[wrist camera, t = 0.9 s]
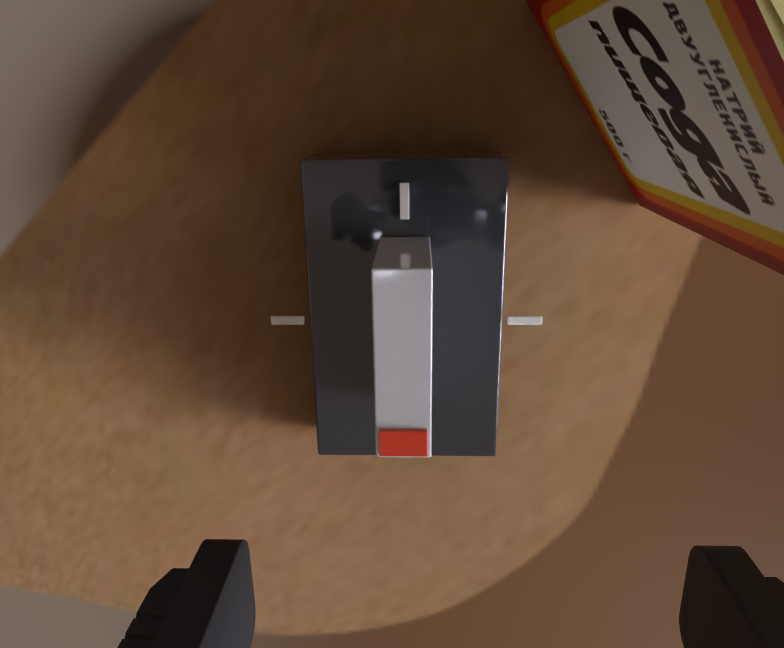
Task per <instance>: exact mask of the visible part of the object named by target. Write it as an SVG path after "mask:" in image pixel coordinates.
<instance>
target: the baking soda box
mask: <svg viewBox="0 0 784 648" xmlns="http://www.w3.org/2000/svg"><path fill="white" fill-rule="evenodd" d="M526 3H527V4H528V6H529V8H530V10H531V12H532V13H533V15H534V17H535V19H536V20H537V22H538V24H539V26H540V28H541V29H542V31H543V33H544V35H545V37H546V38H547V40H548V42H549V44H550V45H551V47H552V49H553V51H554V53H555V54H556V56H557V58H558V60H559V62H560V63H561V65H562V67H563V69H564V70H565V72H566V74H567V76H568V78H569V79H570V81H571V83H572V85H573V87H574V88H575V90H576V92H577V94H578V96H579V97H580V99H581V101H582V103H583V104H584V106H585V108H586V110H587V112H588V113H589V115H590V117H591V119H592V121H593V122H594V124H595V126H596V128H597V129H598V131H599V133H600V135H601V137H602V138H603V140H604V142H605V144H606V146H607V147H608V149H609V151H610V153H611V155H612V156H613V158H614V160H615V162H616V163H617V165H618V167H619V169H620V171H621V172H622V174H623V176H624V178H625V180H626V181H627V183H628V185H629V187H630V188H631V190H632V192H633V194H634V196H635V197H636V199H637V201H638V203H639V205H640V206H642V207H644V208H646V209H648V210H650V211H652V212H655V213H657V214H659V215H661V216H663V217H665V218H667V219H669V220H671V221H673V222H675V223H677V224H679V225H681V226H683V227H686V228H688V229H690V230H692V231H694V232H696V233H698V234H700V235H702V236H704V237H706V238H708V239H711V240H712V241H715V242H717V243H719V244H721V245H723V246H725V247H727V248H729V249H731V250H733V251H735V252H738V253H739V254H741V255H743V256H745V257H748V258H750V259H752V260H754V261H756V262H758V263H760V264H762V265H764V266H766V267H768V268H770V269H772V270H774V271H777V272H779V273H781V274H783V275H784V0H526Z"/></svg>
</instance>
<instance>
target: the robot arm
mask: <svg viewBox="0 0 784 648" xmlns="http://www.w3.org/2000/svg"><path fill="white" fill-rule="evenodd" d="M679 625H680V632H681V638H682V642H683V645H684V648H784V583H783V582H782V581H781V580H779V579H778V578H776V577H764V576H763V575H762V573H761V572H760V570H759V569H758V568H757V566H756V565H755V564H754V563H753V561H752V560H751V558H750V557H749V556H748V554H747V553H746V552H745V550H744V549H742V548H741V547H739V546H694V547H693V548H692V549H691V551H690V554H689V559H688V565H687V571H686V577H685V583H684V589H683V596H682V601H681V607H680V614H679ZM254 627H255V599H254V590H253V581H252V572H251V563H250V554H249V547H248V543H247V541H246V540H228V539H206V540H204V541H203V542H202V544H201V545H200V547H199V549H198V551H197V553H196V555H195V558H194V560H193V562H192V564H191V566H190V568H189V569H185V568H173V569H171V570H170V571H169V572H168V573H167V574H166V575H165V576H164V577H163V578H162V579H160V580H159V581H158V582H157V583H156V584H155V585H154V586H153V587H152V588H150V590H149V592H148V593H147V595H146V597H145V599H144V601H143V602H142V604H141V606H140V608H139V610H138V612H137V615H136V618H134V619H133V621H132V623H131V624H130V626H129V628H128V630H127V632H126V635H125V639H122V641H121V642H120V644H119V646H118V648H250V646H251V643H252V639H253V634H254Z"/></svg>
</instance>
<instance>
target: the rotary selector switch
mask: <svg viewBox="0 0 784 648" xmlns="http://www.w3.org/2000/svg"><path fill="white" fill-rule="evenodd" d="M509 161H510V160H509V158H508V157H507V156H505V155H504V154H502V153H500V152H479V153H389V154H312V155H310V156H308V157H306V158H304V159H302V160H301V177H302V194H303V210H304V227H305V243H306V260H307V276H308V293H309V310H310V326H311V343H312V359H313V376H314V392H315V409H316V426H317V442H318V453H319V454H320V455H376V446H375V407H374V368H373V329H372V290H371V269H372V265H373V261H374V258H375V254H376V250H377V247H378V243H379V239H380V238H381V237H430V243H431V255H432V266H433V313H432V437H431V455H432V456H495V454H496V437H497V416H498V394H499V373H500V352H501V331H502V309H503V288H504V267H505V246H506V224H507V203H508V182H509ZM507 324H508V325H542V316H507ZM271 325H305V316H271Z"/></svg>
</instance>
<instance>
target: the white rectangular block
mask: <svg viewBox="0 0 784 648" xmlns="http://www.w3.org/2000/svg"><path fill="white" fill-rule="evenodd" d="M371 290H372V329H373V368H374V407H375V446H376V456H377V457H431V437H432V313H433V266H432V255H431V243H430V237H381V238H380V239H379V243H378V247H377V250H376V254H375V258H374V261H373V265H372V269H371Z"/></svg>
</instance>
